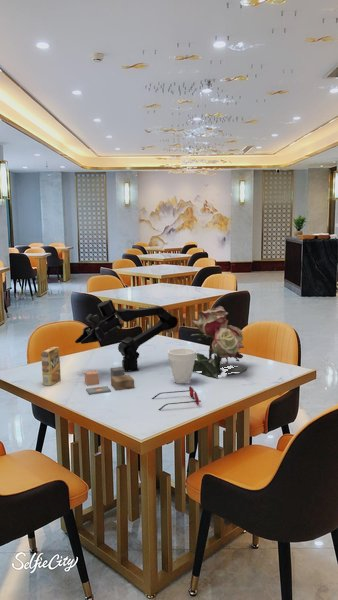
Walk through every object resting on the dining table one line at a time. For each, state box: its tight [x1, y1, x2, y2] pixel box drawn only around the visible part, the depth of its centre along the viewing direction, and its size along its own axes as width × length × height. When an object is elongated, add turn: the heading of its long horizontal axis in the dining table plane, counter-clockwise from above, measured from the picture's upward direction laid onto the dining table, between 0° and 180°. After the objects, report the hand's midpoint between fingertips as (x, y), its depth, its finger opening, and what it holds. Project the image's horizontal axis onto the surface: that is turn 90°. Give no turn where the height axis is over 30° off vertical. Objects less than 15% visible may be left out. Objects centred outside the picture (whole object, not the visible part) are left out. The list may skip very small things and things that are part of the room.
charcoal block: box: [110, 366, 126, 378], centre depth 229 cm, size 5×5×5 cm
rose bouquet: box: [178, 305, 248, 379], centre depth 241 cm, size 26×29×30 cm
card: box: [85, 385, 112, 396], centre depth 213 cm, size 9×6×1 cm, turn 112°
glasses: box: [151, 385, 202, 411], centre depth 198 cm, size 14×16×5 cm
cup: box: [167, 347, 197, 384], centre depth 224 cm, size 12×12×14 cm
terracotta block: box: [84, 370, 100, 387], centre depth 224 cm, size 5×5×5 cm
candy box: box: [40, 346, 62, 386], centre depth 225 cm, size 9×4×15 cm, turn 163°
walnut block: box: [110, 374, 135, 391], centre depth 219 cm, size 8×8×4 cm
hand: (78, 342), depth 230 cm, fingers open, 9 cm apart
